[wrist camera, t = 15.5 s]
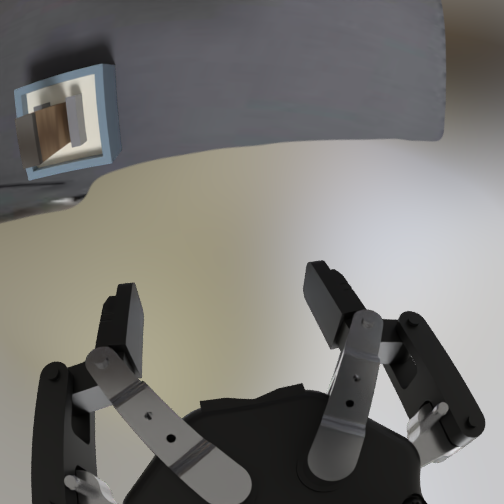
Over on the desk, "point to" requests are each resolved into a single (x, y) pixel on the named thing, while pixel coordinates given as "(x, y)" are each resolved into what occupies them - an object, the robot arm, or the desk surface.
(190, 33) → the desk surface
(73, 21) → the desk surface
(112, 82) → the blue open box
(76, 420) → the robot arm
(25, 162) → the wooden plank
